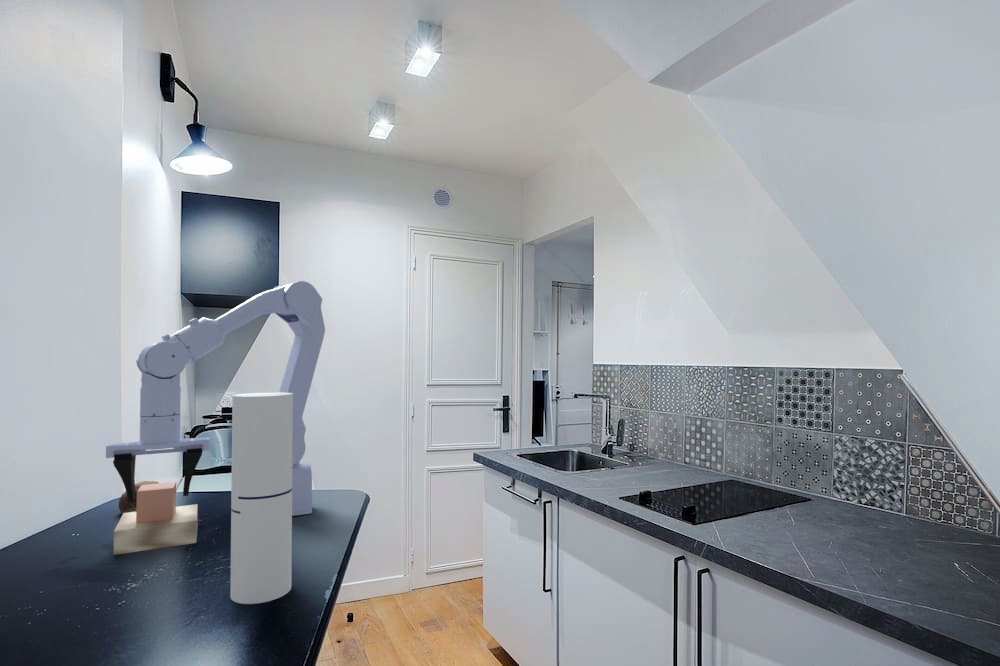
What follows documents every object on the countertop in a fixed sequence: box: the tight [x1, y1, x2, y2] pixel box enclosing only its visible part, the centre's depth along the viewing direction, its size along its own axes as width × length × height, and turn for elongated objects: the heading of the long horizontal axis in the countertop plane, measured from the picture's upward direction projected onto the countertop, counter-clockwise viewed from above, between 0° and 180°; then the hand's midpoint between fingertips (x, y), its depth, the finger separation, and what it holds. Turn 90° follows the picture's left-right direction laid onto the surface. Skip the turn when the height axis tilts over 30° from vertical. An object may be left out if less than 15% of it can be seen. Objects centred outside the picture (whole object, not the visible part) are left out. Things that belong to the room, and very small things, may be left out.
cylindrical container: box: [229, 391, 293, 605], centre depth 70 cm, size 7×7×25 cm
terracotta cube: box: [135, 481, 177, 523], centre depth 90 cm, size 5×5×5 cm
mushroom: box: [118, 480, 159, 514], centre depth 106 cm, size 8×8×6 cm
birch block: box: [112, 503, 199, 556], centre depth 91 cm, size 11×11×4 cm
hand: (159, 497), depth 91 cm, fingers open, 7 cm apart
